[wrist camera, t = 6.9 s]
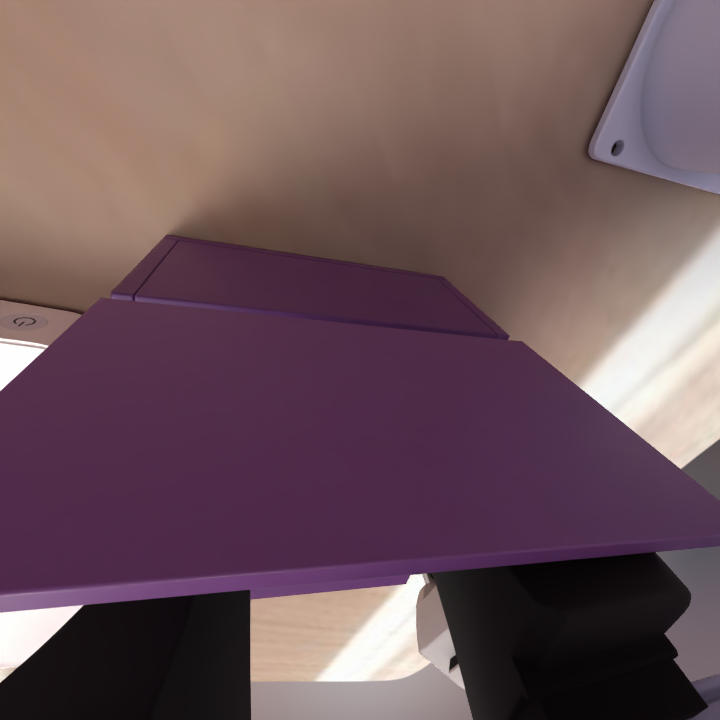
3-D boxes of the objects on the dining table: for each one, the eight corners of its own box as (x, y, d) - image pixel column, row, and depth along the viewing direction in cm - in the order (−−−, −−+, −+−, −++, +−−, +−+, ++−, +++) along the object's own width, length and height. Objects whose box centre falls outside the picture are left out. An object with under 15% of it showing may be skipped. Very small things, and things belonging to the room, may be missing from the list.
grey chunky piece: (470, 502, 29) (446, 601, 20) (545, 562, 28) (555, 697, 19) (429, 546, 31) (390, 653, 22) (496, 603, 30) (483, 742, 21)
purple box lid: (102, 309, 8) (100, 296, 8) (518, 350, 11) (522, 341, 11) (-222, 635, 3) (-245, 613, 3) (746, 544, 6) (761, 532, 6)
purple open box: (166, 234, 13) (97, 304, 8) (443, 276, 16) (523, 346, 11) (178, 483, 20) (145, 611, 14) (376, 480, 23) (406, 584, 17)
